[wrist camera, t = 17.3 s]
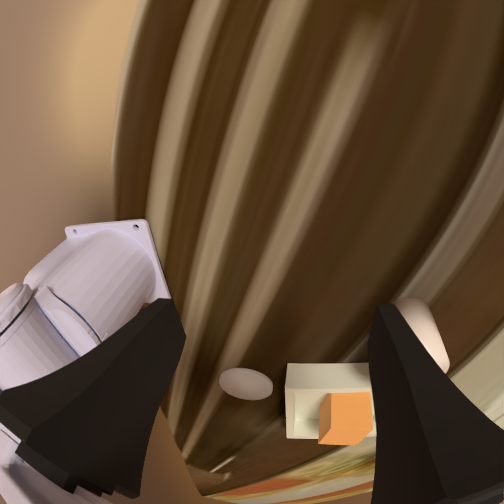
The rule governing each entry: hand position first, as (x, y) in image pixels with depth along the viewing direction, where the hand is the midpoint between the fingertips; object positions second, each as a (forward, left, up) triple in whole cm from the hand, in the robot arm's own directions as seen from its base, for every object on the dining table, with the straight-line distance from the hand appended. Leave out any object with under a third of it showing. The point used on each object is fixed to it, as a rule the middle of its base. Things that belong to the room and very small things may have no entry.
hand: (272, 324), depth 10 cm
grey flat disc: (-5, -20, -11) cm, 23 cm away
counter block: (+6, -22, -10) cm, 25 cm away
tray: (+6, -22, -10) cm, 25 cm away
